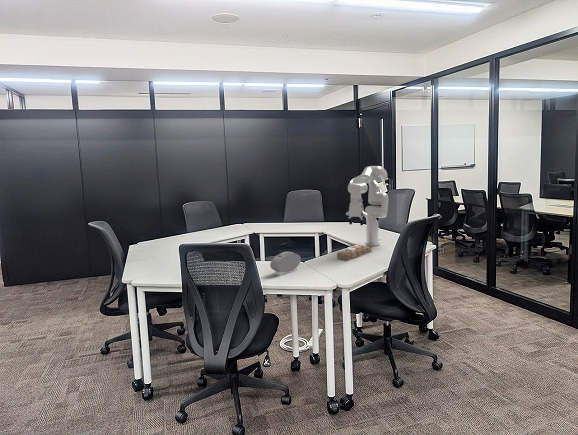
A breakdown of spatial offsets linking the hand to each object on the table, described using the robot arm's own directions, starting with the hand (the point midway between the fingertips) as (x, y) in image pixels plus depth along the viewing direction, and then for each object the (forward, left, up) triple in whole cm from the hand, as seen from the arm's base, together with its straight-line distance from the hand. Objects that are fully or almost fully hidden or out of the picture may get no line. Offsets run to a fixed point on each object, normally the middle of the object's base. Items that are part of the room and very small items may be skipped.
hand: (356, 224), depth 310 cm
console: (+3, 0, -22) cm, 22 cm away
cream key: (+8, 0, -20) cm, 21 cm away
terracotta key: (0, 0, -20) cm, 20 cm away
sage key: (-8, 0, -20) cm, 21 cm away
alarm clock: (+66, -13, -22) cm, 71 cm away
